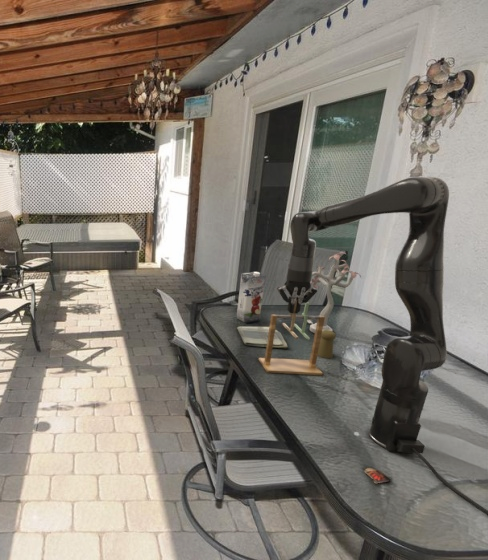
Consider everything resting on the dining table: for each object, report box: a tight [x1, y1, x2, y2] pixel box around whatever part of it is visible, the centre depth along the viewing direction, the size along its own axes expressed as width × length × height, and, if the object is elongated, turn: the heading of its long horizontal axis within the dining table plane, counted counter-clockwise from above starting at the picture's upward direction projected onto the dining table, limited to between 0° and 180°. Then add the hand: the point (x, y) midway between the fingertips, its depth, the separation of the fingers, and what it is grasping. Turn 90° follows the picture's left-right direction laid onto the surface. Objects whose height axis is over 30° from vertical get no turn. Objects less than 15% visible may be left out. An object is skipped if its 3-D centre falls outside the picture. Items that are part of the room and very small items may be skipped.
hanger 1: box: [282, 299, 299, 340], centre depth 131 cm, size 12×1×13 cm, turn 172°
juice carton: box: [236, 271, 267, 324], centre depth 184 cm, size 9×10×27 cm
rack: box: [258, 313, 325, 376], centre depth 139 cm, size 10×20×23 cm, turn 82°
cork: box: [317, 330, 337, 359], centre depth 149 cm, size 6×6×11 cm
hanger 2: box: [294, 301, 311, 341], centre depth 135 cm, size 12×1×13 cm, turn 172°
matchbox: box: [363, 467, 392, 485], centre depth 91 cm, size 5×5×1 cm
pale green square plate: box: [236, 326, 289, 350], centre depth 166 cm, size 19×18×3 cm
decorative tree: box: [307, 251, 362, 334], centre depth 168 cm, size 28×24×40 cm
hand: (293, 312), depth 131 cm, fingers closed on hanger 1, 1 cm apart
